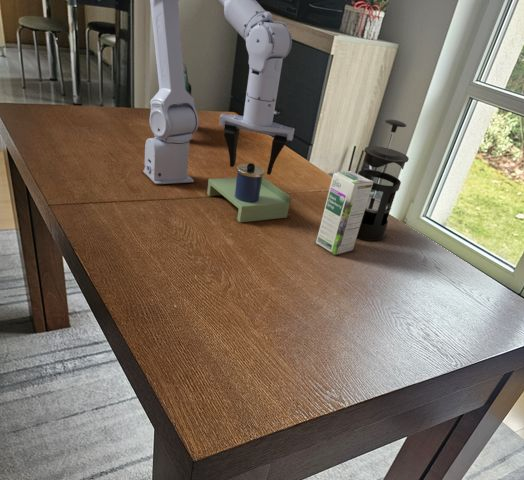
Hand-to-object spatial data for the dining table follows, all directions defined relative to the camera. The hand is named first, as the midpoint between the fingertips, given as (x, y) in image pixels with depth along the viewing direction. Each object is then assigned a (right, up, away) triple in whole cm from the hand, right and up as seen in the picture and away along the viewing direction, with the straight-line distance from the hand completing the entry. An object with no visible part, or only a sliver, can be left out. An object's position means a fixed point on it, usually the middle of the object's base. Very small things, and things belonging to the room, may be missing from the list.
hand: (250, 169), depth 103 cm
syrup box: (+17, -16, -1) cm, 23 cm away
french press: (+24, -11, +8) cm, 28 cm away
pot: (-1, -5, +3) cm, 6 cm away
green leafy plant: (-22, +27, +45) cm, 57 cm away
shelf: (-1, -5, +9) cm, 10 cm away
